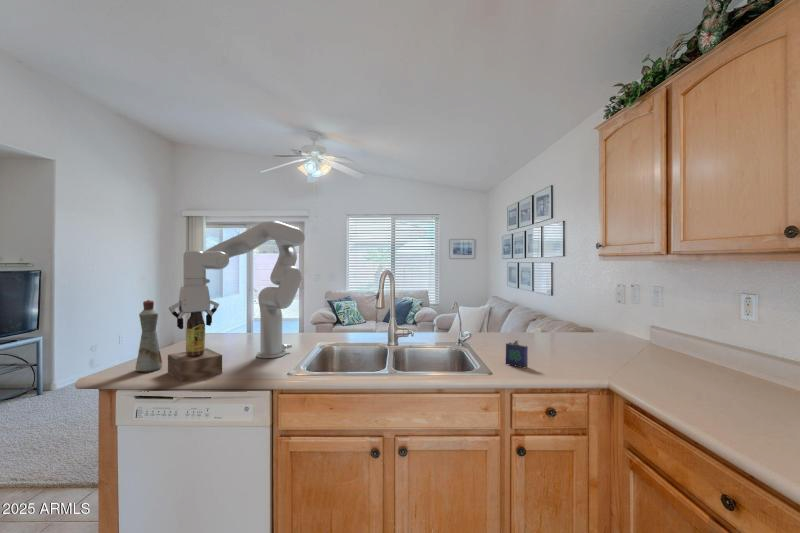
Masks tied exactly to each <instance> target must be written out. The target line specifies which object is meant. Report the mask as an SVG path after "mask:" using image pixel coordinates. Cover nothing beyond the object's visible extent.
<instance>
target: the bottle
mask: <svg viewBox="0 0 800 533" xmlns="http://www.w3.org/2000/svg"><path fill="white" fill-rule="evenodd" d="M142 305H143V310H142V311H141V312H140V313H139V314H138V316H139V322H140V327H141V328H140V329H141V336H140V342H139V347H138V354H137V358H136V363H135V364H136V365H135V371H136V372H143V373H144V372H145V373H146V372H147V373H148V372H149V373H150V372H153V371H159V370H160V369H162V367H163V360H162V354H161V350H160V344H159V338H158V335H157V334H158V333H157V325H158V319H159V318H158V316H159V312H158V311H157V310H155V308H154V307H155V306H154V305H155V302H154V300H150V299H147V300H144V301H143V302H142Z"/></svg>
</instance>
